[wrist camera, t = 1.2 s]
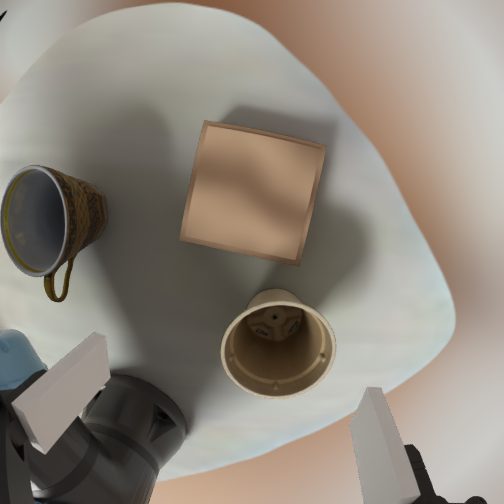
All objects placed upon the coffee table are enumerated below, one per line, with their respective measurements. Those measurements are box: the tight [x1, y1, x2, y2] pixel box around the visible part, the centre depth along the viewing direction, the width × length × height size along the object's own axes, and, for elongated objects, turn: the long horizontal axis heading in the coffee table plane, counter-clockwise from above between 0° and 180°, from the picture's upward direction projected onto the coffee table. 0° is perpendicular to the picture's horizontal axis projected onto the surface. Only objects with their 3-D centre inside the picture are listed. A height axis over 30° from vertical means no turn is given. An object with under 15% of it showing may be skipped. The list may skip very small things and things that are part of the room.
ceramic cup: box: [0, 165, 108, 302], centre depth 25 cm, size 13×10×10 cm
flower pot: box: [221, 289, 336, 399], centre depth 26 cm, size 9×9×9 cm
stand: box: [179, 120, 327, 266], centre depth 26 cm, size 11×11×4 cm
